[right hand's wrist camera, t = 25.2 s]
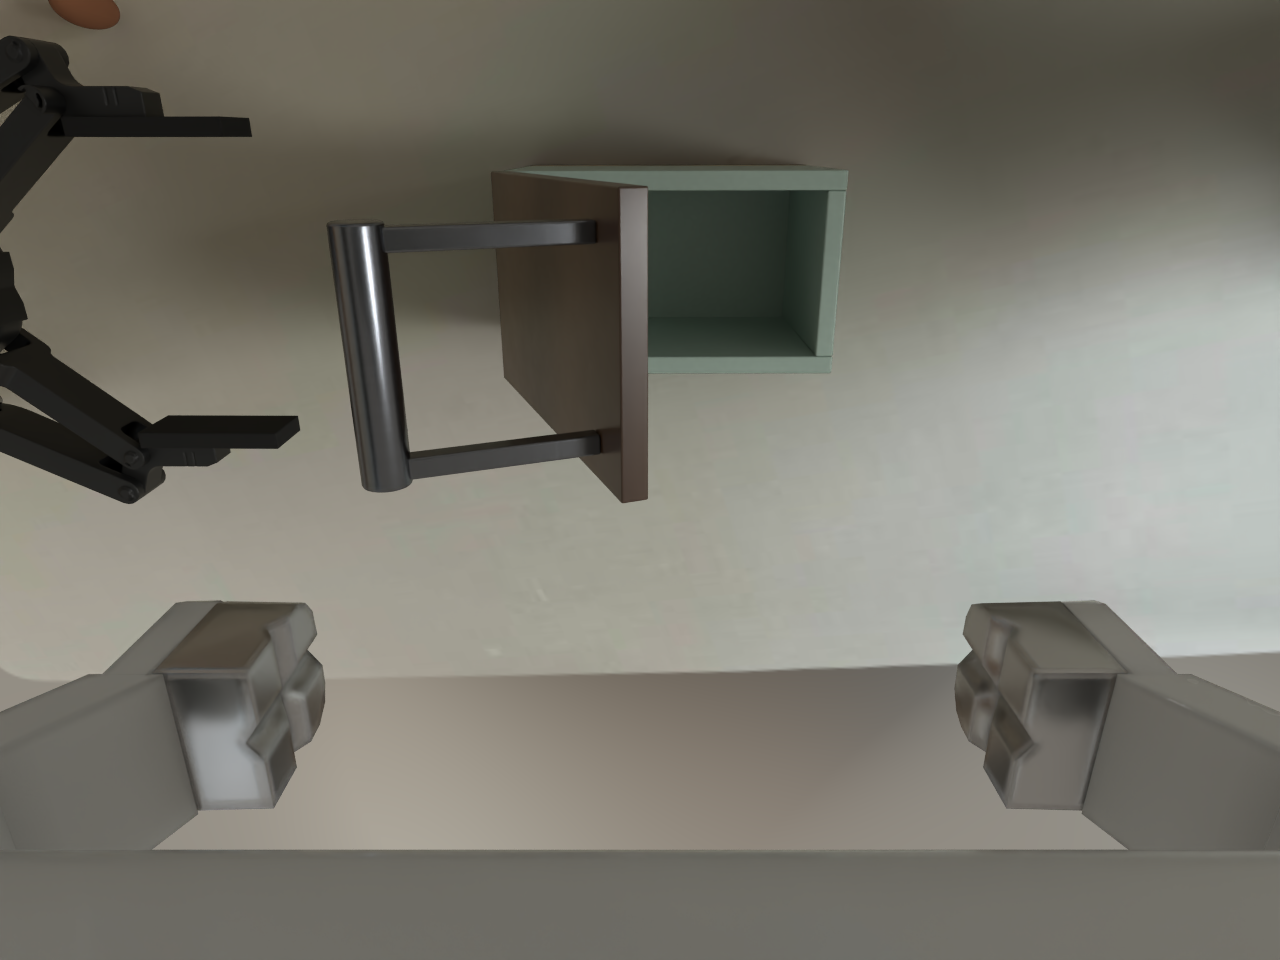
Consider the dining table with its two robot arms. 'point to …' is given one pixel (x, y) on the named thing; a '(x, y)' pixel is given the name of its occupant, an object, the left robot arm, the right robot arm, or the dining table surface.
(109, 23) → the brown elongated ellipsoid
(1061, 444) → the dining table surface
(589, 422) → the lid
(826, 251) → the chest
